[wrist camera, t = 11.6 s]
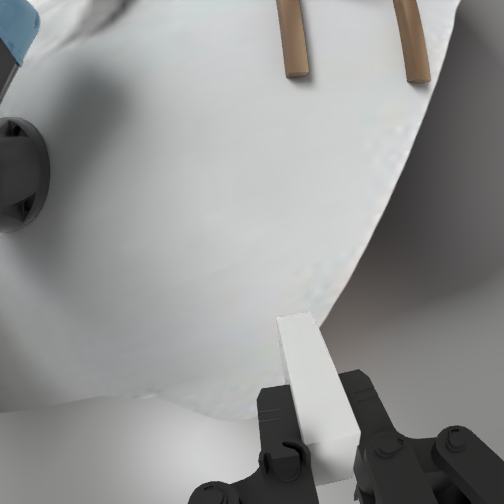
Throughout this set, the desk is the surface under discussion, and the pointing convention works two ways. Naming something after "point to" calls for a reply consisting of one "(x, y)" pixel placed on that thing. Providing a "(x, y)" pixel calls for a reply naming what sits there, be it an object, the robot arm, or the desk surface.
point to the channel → (407, 26)
